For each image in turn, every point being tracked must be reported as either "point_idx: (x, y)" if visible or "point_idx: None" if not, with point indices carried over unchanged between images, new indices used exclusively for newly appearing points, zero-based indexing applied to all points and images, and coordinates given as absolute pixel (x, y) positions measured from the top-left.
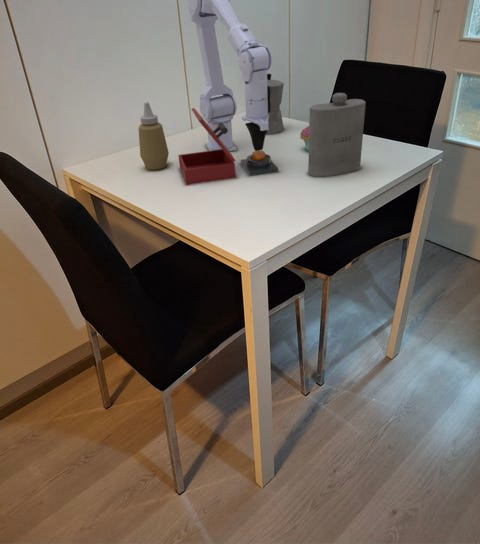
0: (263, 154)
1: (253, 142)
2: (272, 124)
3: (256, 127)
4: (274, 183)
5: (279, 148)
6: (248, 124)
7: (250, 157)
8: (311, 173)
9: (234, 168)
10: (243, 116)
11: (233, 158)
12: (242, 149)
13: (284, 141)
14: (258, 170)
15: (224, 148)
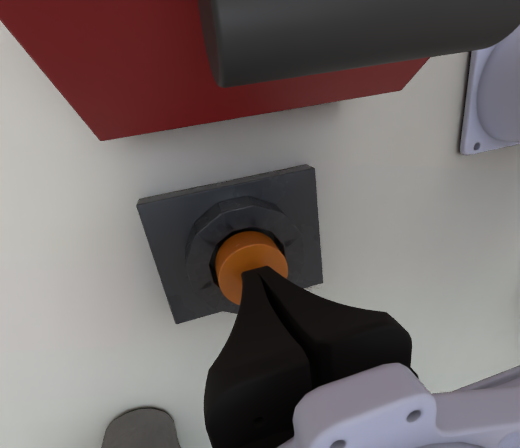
0: (230, 299)
1: (243, 295)
2: None
3: (213, 444)
4: (40, 303)
5: (410, 310)
6: (353, 356)
7: (258, 225)
8: (112, 427)
9: None
10: (420, 417)
11: (89, 127)
12: (461, 179)
13: (461, 323)
14: (153, 248)
15: (9, 25)
